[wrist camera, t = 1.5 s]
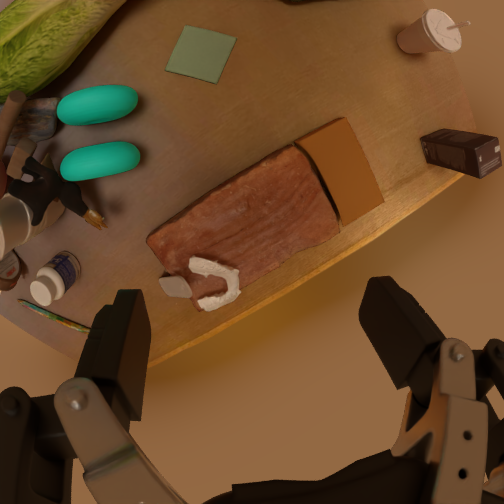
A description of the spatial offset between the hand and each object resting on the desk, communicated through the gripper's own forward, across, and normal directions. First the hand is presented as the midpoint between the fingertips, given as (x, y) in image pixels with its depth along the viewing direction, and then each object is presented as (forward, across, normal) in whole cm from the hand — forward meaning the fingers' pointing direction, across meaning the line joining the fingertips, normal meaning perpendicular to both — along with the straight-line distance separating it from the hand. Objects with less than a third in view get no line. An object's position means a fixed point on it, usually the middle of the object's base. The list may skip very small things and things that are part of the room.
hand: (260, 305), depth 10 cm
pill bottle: (+29, +25, +16) cm, 42 cm away
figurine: (+18, +23, -2) cm, 30 cm away
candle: (+30, +26, +5) cm, 40 cm away
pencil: (+28, +41, +23) cm, 55 cm away
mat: (+30, +3, -14) cm, 33 cm away
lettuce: (+32, +22, -20) cm, 44 cm away
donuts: (+30, +14, -4) cm, 34 cm away
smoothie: (+29, -26, -20) cm, 44 cm away
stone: (+31, +31, -5) cm, 44 cm away
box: (+27, -32, -4) cm, 42 cm away
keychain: (+23, +6, +18) cm, 29 cm away
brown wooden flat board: (+27, -6, +8) cm, 29 cm away
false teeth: (+21, +1, +15) cm, 26 cm away
